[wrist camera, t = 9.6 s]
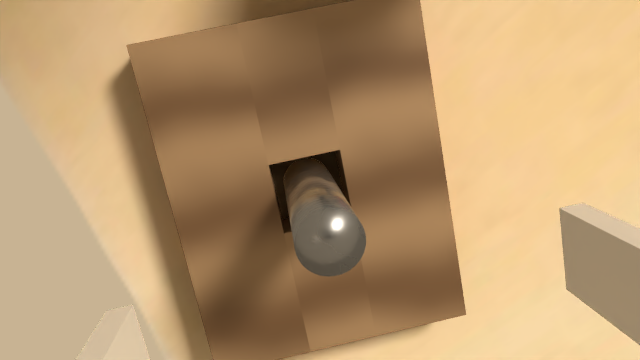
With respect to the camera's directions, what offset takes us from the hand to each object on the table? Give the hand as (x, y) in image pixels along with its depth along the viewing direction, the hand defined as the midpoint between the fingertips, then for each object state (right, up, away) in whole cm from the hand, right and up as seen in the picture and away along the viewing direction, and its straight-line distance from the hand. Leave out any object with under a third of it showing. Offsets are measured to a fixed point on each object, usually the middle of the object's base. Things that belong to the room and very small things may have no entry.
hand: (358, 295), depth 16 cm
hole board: (-2, +3, +18) cm, 18 cm away
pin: (-2, +3, +18) cm, 18 cm away
